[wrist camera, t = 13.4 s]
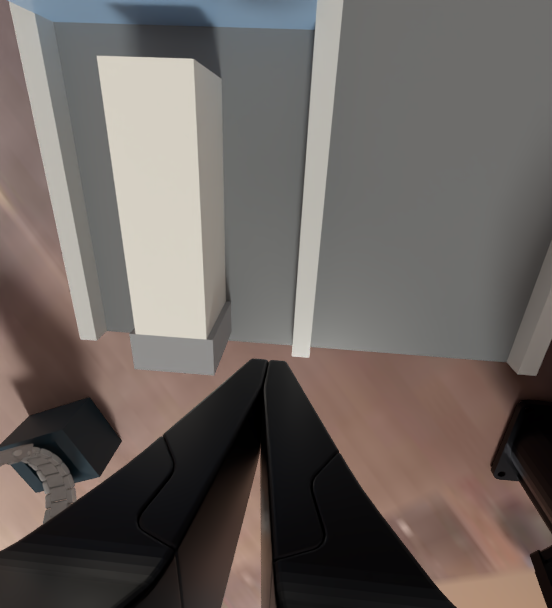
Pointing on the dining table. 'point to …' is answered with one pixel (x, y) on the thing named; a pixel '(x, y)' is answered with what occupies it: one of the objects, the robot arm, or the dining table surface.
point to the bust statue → (60, 451)
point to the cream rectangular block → (170, 207)
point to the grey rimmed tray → (329, 165)
